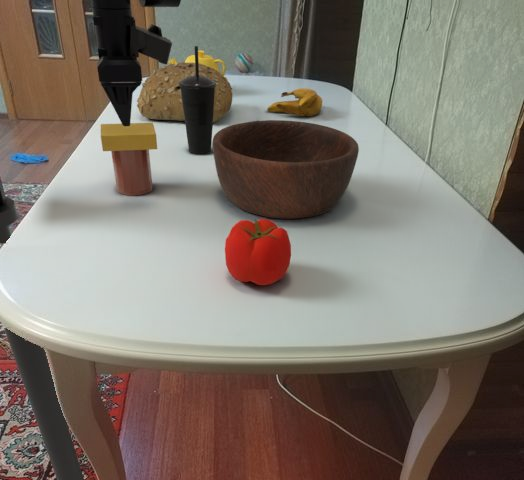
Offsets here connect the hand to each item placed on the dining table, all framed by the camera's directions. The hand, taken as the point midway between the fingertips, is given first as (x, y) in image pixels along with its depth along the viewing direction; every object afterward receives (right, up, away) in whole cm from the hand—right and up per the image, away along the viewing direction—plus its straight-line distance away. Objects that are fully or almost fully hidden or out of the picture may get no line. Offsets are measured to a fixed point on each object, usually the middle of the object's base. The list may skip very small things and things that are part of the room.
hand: (125, 118), depth 85 cm
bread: (+3, +24, +49) cm, 55 cm away
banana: (+32, +27, +56) cm, 70 cm away
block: (0, -3, +3) cm, 4 cm away
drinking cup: (+9, +4, +26) cm, 28 cm away
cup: (0, -10, +8) cm, 12 cm away
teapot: (+4, +40, +70) cm, 80 cm away
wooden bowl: (+27, -11, +7) cm, 30 cm away
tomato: (+23, -29, -15) cm, 40 cm away
